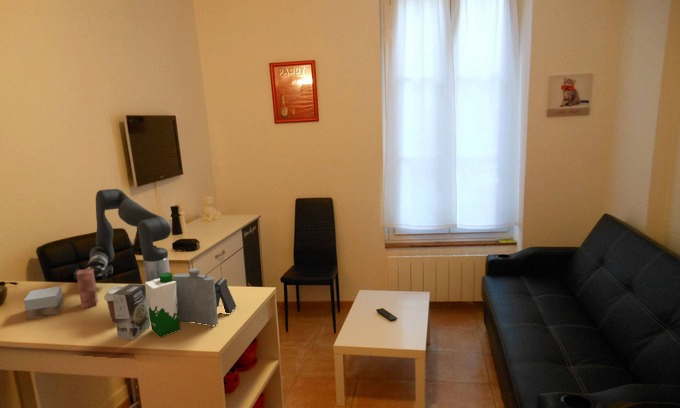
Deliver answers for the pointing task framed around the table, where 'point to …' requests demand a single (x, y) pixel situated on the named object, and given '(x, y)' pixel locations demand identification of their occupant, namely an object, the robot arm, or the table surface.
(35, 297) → the tower middle block
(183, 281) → the hip flask
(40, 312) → the tower base
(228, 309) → the phone stand
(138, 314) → the coffee box
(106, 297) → the coffee cup
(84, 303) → the tall block
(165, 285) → the milk carton
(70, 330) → the table surface
